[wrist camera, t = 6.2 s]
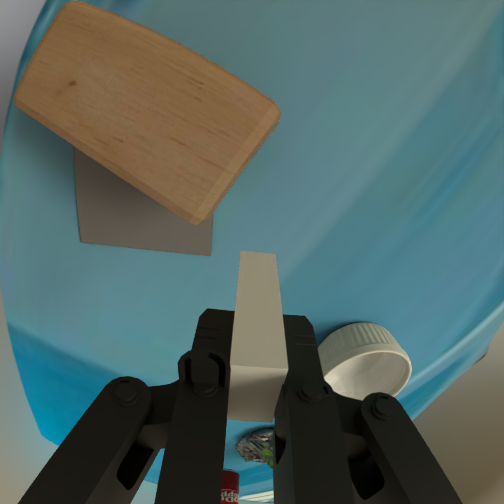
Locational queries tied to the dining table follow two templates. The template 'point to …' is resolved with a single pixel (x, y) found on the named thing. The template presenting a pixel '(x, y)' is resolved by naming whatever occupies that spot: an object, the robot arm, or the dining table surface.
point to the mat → (130, 214)
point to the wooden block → (145, 108)
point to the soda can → (230, 487)
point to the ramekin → (364, 361)
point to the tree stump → (257, 446)
